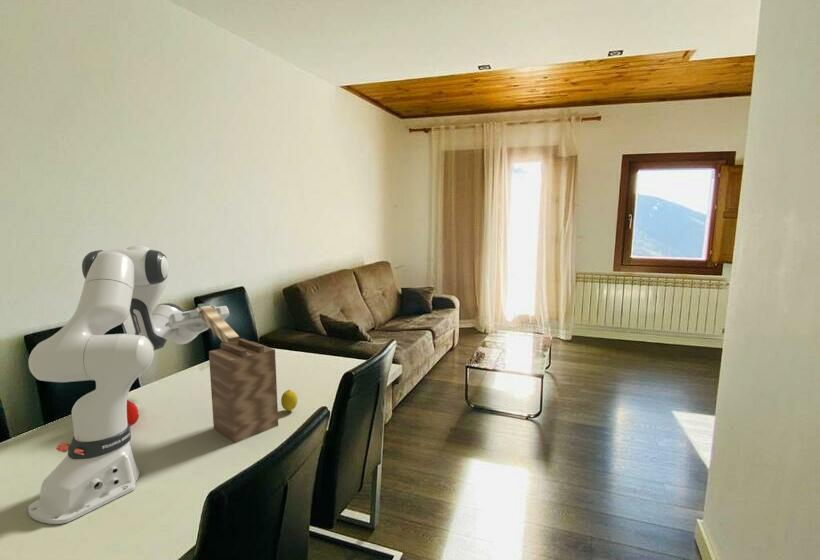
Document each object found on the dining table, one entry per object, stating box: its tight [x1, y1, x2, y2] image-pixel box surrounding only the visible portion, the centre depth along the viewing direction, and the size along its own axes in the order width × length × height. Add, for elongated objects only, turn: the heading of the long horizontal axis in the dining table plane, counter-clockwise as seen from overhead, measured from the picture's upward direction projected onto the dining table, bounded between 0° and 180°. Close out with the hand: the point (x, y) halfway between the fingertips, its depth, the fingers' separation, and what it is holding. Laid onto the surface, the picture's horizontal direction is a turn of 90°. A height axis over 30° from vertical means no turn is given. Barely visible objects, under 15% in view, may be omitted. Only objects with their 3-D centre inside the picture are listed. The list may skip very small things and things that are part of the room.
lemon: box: [280, 389, 298, 412], centre depth 151 cm, size 6×6×8 cm
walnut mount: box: [208, 337, 279, 444], centre depth 138 cm, size 15×14×28 cm
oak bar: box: [196, 302, 240, 346], centre depth 147 cm, size 24×4×4 cm, turn 49°
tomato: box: [127, 399, 140, 427], centre depth 137 cm, size 14×13×9 cm
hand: (206, 308), depth 152 cm, fingers closed on oak bar, 4 cm apart
